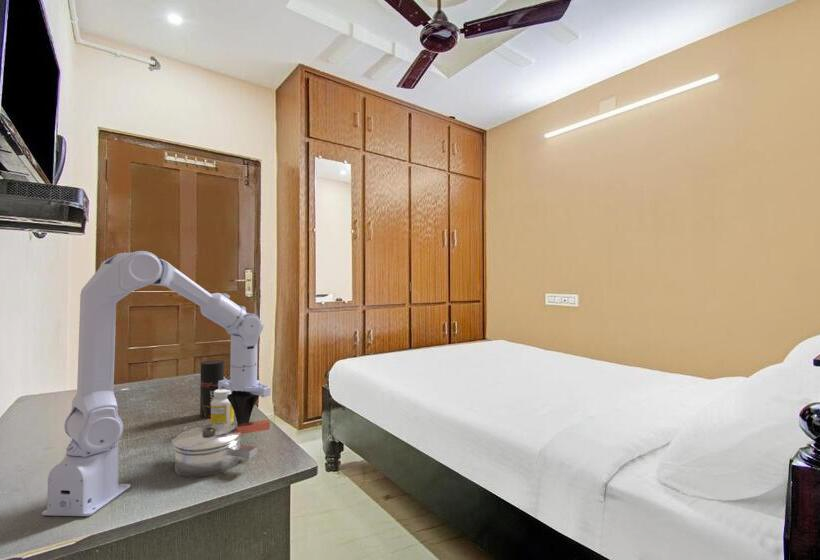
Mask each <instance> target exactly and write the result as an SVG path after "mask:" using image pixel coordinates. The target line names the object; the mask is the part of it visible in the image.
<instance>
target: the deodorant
mask: <svg viewBox="0 0 820 560" xmlns="http://www.w3.org/2000/svg"><path fill="white" fill-rule="evenodd" d="M224 372H225V361H224V360H222V359H210V360H209V359H208V360H204V361H202V362H200V386H199V387H200V393H199V395H200V397H199V398H200V400H199V403H200V404H199V407H200V408H199V417H200V418H202V419H211V401H212V400H213V399H215V397H214V391H215V390H218V381H221V380H225V378H224V377H225V375H224V374H225V373H224Z"/></svg>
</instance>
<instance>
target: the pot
mask: <svg viewBox="0 0 820 560" xmlns="http://www.w3.org/2000/svg"><path fill="white" fill-rule="evenodd" d="M175 438H176V437H173V439H171V447H173V450H174V452H175V454H174V455H175V456H174V457H175V460H174V461H175V462H174V463H175V464H174V468H175V469H174V472H175V473H176V475H178V476H180V477H184V478H193V479H194V478H205V477H206V478H207V477H211V476H215V475H219V474H222V473H225V472H227V471H228V470H230V469H233V468H234V467H235V466H236V465H237V464H238V463H239V462H240V458H244V459H251V458H252V457H254V456H255V455H257V454H258V446H256V445H254V446H253V445H247V444H241V440H242V435H241V436H240V438H239V439H238V440H236V441H235V442H233V443H231V444H229V445H226V446H223V447H220V448H216V449H211V450H205V451H184V450H180V449H177V448H176V447H175V446H174V440H175Z"/></svg>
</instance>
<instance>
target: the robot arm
mask: <svg viewBox="0 0 820 560" xmlns="http://www.w3.org/2000/svg"><path fill="white" fill-rule="evenodd" d="M150 285H152V286H161V287H165V288H167V289H170V290H172V291H173V292H175V293H176V294H178V295H180V296H182V297H183V298H185V299H187V300H189V301H190V302H193V303H194V304H196V305H197V306H199V309H200V314H201V315H202V316H203V317H205V318H207V319H208V320H211V322H213V323H215V324H217V325H218V326H219V327H222V328H223V329H224V330H225V331H226V333H227V334H228V335H230V360H229V361H230V369H229V370H230V372H229V373H230V375H229V376H230V377H229V379H225V378H224V380H221V381H218V389H220V390H222V389H226V390H231V394H229V395H227V399H228V400H229V402H230V403H231V405H232V407H233V410H234V417H235V420H236V425H237V424H242V423H248V422H250V420H251V415H252V413H253V409H254V407H255V405H256V402H257V401H258V399H259V397H261V398H266V397H269V396H271V386H267V385H264V384H263V383H261V382H260V380H259V379H258V344H259V337H260V335H261V333H262V332H263V329H264V324H262V321H261V320H260V317H259V315H258V314H255V313H251V312H247V308H246V307H245V306H243V305H238V304H237V303H235V302H234V301H232V300H231V299H230V298H231V296H230V295H229V294H227V293H220V292H215V293H210V292H209V291H207V290H206V289H205V288H203V287H202V285H201V286H200V285H199V284H198V283H197V282H195V281H193V280H192V279H191V278H189V277H188V276H187V275H185V274H184V273H183V272H181V271H180V270H179V269H177V268H176V267H175V266H173V265H172V264H171V263H170V262H168V261H167V260H165V259H163V258H158V256H157V255H155V254H154V253H152V252H149V251H145V250H137V251H134V252H121V253H117V254H115V255H113V256H111V257H110V258H109V257H108V258H107V259H105V260H104V261H102V262H101V264H100V266H99V268H98V269H97V270H96V271H95V273H94V274H93V275H92V276H91V278H90V279H89V280H88V282H86V283H85V285H84V286H83V287H82V289H81V291H80V294H79V296H80V297H79V299H80V300H79V301H80V302H79V321H78V322H79V323H78V325H79V327H78V349H77V350H78V351H77V352H78V354H77V379H76V380H77V382H76V383H77V384H76V385H77V386H76V387H77V388H76V394H75V395H74V397H73V399H72V402H71V410H70V412H69V414H68V415H67V416H66V419H65V421H64V432H65V434H66V436H68V437H69V438H70V439H71V441H70V442H69V444H68V445H67V447H66V451H65V455H64V457H63V458H62V460H60V461H59V462H58V463H57V464H56V465H55V466H53V468H52V469H51V470H50V471H49V473H48V476H47V501H46V502H47V504H46V505H47V509H45V510H43V511H42V512H41V514H42V516H53V517H54V516H59V517H60V516H62V517H63V516H64V517H69V516H70V517H90V516H92V515H93V514H95V513H96V512H98V511H99V510H100V509H102V508H103V507H104V506H106V505H107V504H109V503H110V502H112V501H114V499H116V498H117V497H118V496H120V495H122V494H123V493H124V492H126V491H127V490H128V489H130V488H131V483H119V457H120V455H119V453H120V439H121V438H122V435H123V432H124V423H123V421H122V419H121V418H120V416H119V414H118V407H119V406H118V403H117V399H116V396H115V392H114V389H115V388H114V385H115V384H114V382H115V357H116V356H115V353H116V351H115V350H116V349H115V348H116V320H117V304H118V302H119V301H121V300H123V299H124V298H125V297H126V296H128V295H130V293H132V292H135V290H136V291H137V290H139V289H143V288H145V287H148V286H150Z"/></svg>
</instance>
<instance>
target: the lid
mask: <svg viewBox="0 0 820 560" xmlns="http://www.w3.org/2000/svg"><path fill="white" fill-rule="evenodd" d="M262 431H270V421H269V419H262V420H256V421H249V422H248V423H242V424H237V423H236V425H235V424H234V425H228V424H215V425H211V424H207V425H203V426H197V427H194V428H191V429H188V430H185V431H182V432H181V433H179V434H178V435H177V436H176V437H174V438H175V440H174V446H175V447H176V448H177V449H180V450H184V451H205V450H211V449H216V448H220V447H223V446H226V445H229V444H231V443H233V442H235V441H236V440H238V439H239V438H240V436H241V437H242V435H244V434H249V433H255V432H256V433H257V432H262Z"/></svg>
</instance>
